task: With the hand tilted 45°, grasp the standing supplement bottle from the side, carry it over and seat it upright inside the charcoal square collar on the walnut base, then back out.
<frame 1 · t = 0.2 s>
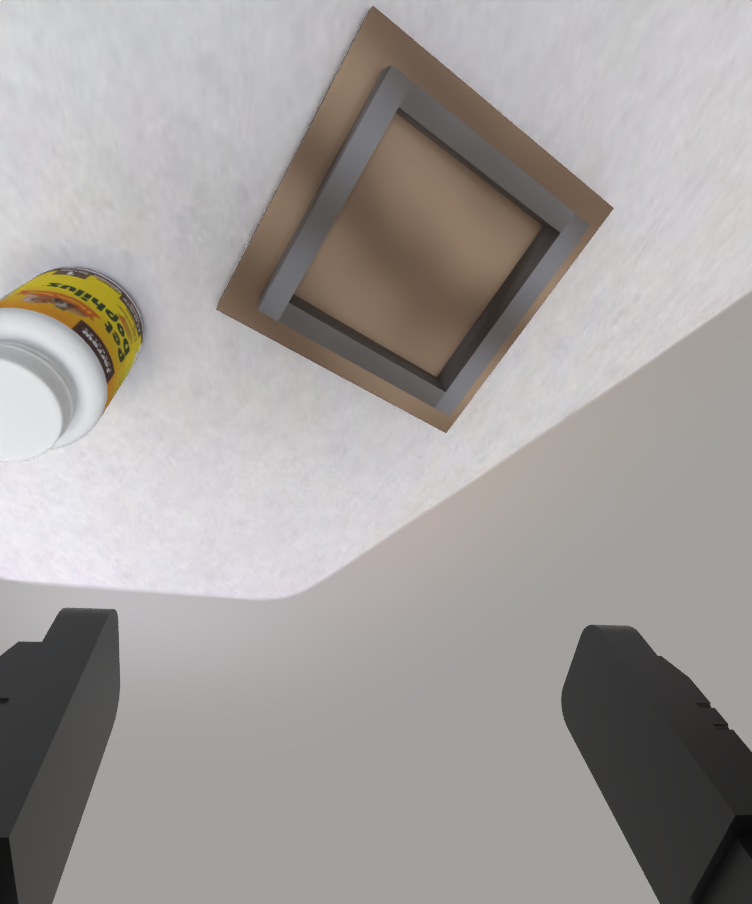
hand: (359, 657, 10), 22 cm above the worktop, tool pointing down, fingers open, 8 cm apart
collar base: (412, 254, 29), on the worktop
supplement bottle: (87, 320, 28), on the worktop
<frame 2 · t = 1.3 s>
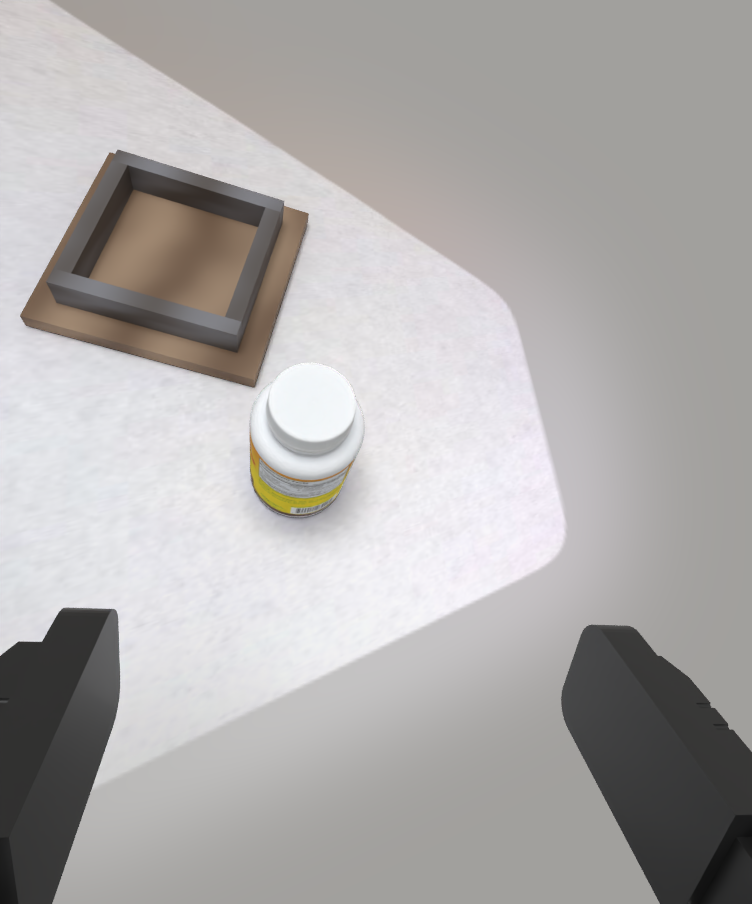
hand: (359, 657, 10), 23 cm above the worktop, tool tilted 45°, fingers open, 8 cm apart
collar base: (179, 269, 38), on the worktop
supplement bottle: (296, 476, 35), on the worktop
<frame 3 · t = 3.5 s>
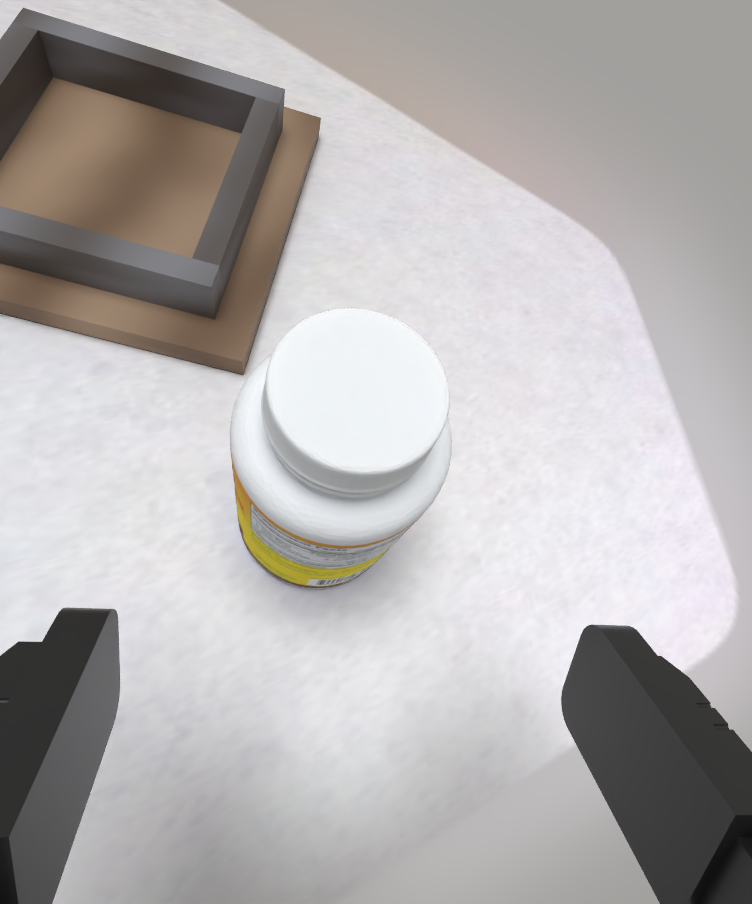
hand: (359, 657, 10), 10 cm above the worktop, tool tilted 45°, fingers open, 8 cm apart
collar base: (125, 197, 25), on the worktop
supplement bottle: (313, 517, 21), on the worktop
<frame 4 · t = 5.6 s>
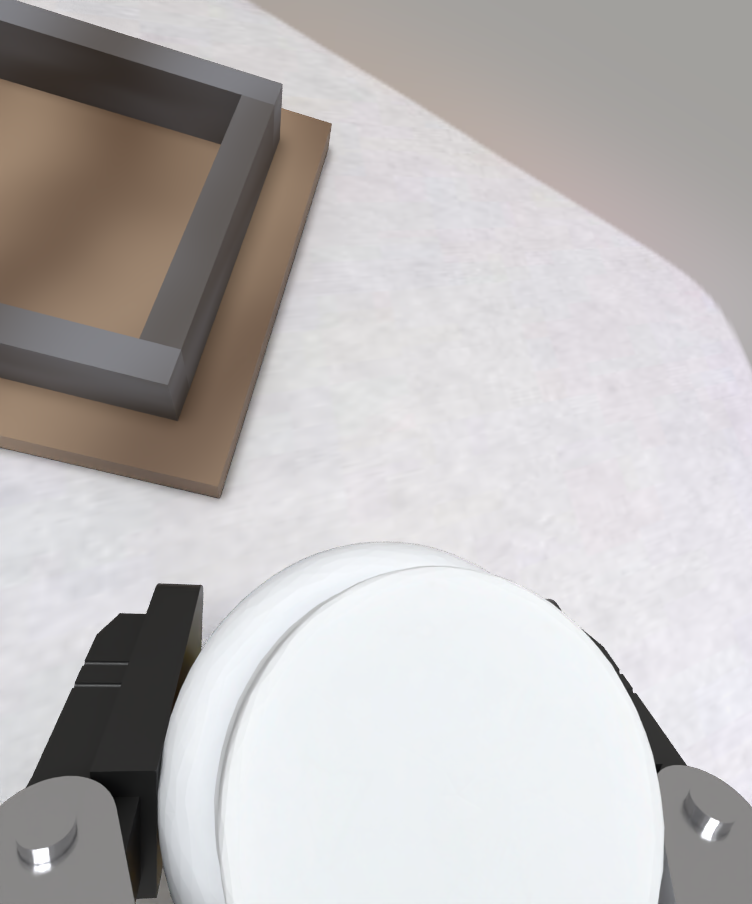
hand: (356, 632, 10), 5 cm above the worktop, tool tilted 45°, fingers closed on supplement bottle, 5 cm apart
collar base: (59, 235, 18), on the worktop
supplement bottle: (322, 725, 14), on the worktop, touching gripper
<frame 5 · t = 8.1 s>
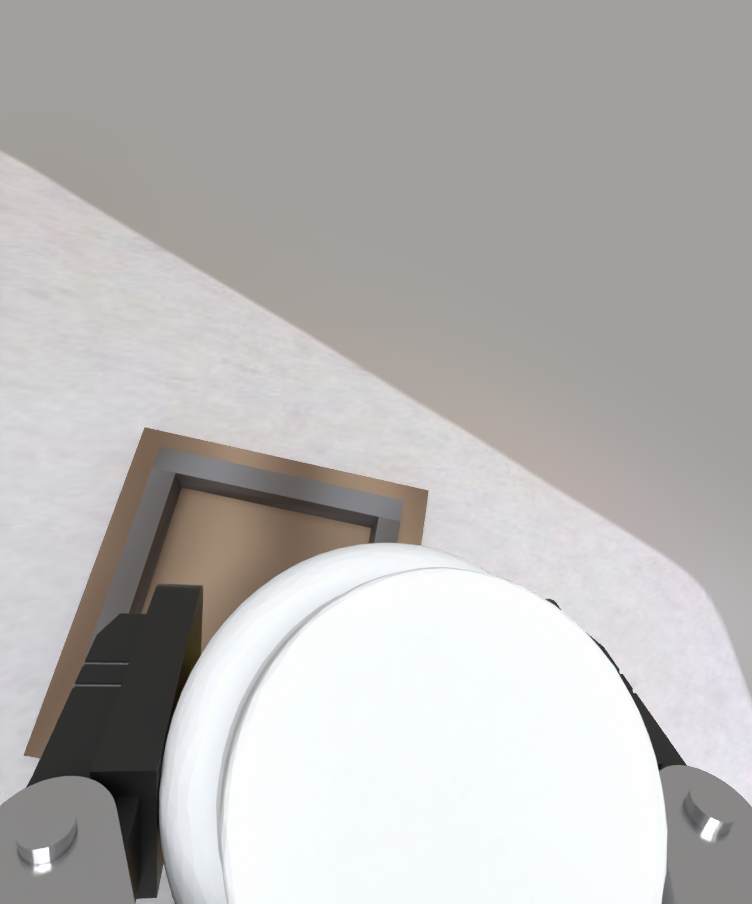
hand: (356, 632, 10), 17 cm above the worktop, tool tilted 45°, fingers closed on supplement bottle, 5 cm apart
collar base: (254, 607, 26), on the worktop
supplement bottle: (323, 726, 14), point 12 cm above the worktop, touching gripper
when the fingers open (7 cm above the worktop, at t = 10.9 s): supplement bottle drops 1 cm, resting on collar base.
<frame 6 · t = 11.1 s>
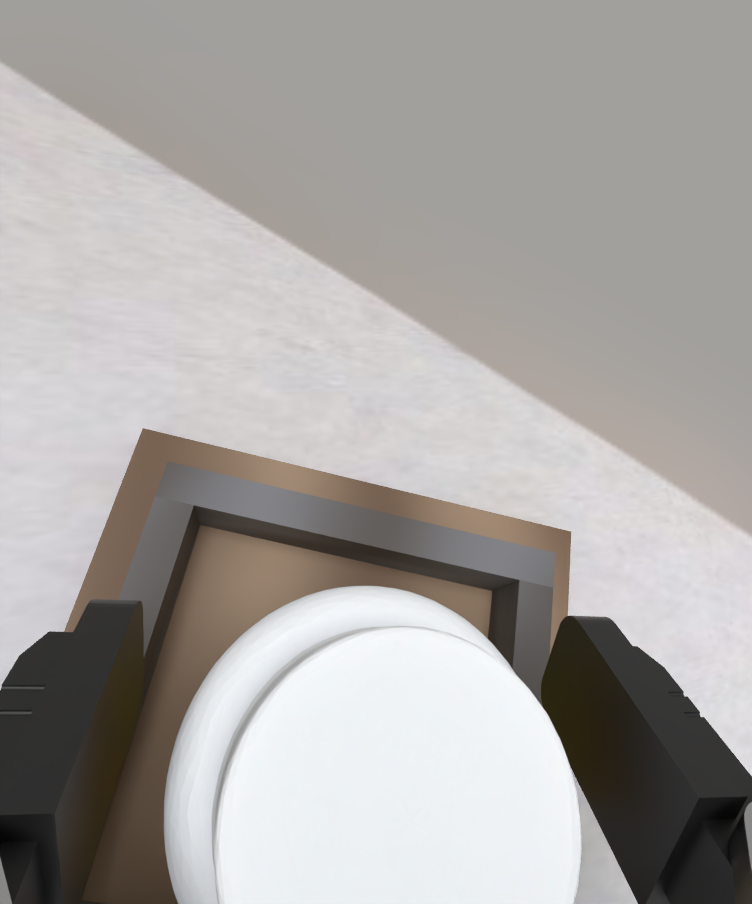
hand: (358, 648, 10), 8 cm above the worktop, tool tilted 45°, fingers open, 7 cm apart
collar base: (313, 720, 16), on the worktop
supplement bottle: (313, 731, 15), point 1 cm above the worktop, touching collar base
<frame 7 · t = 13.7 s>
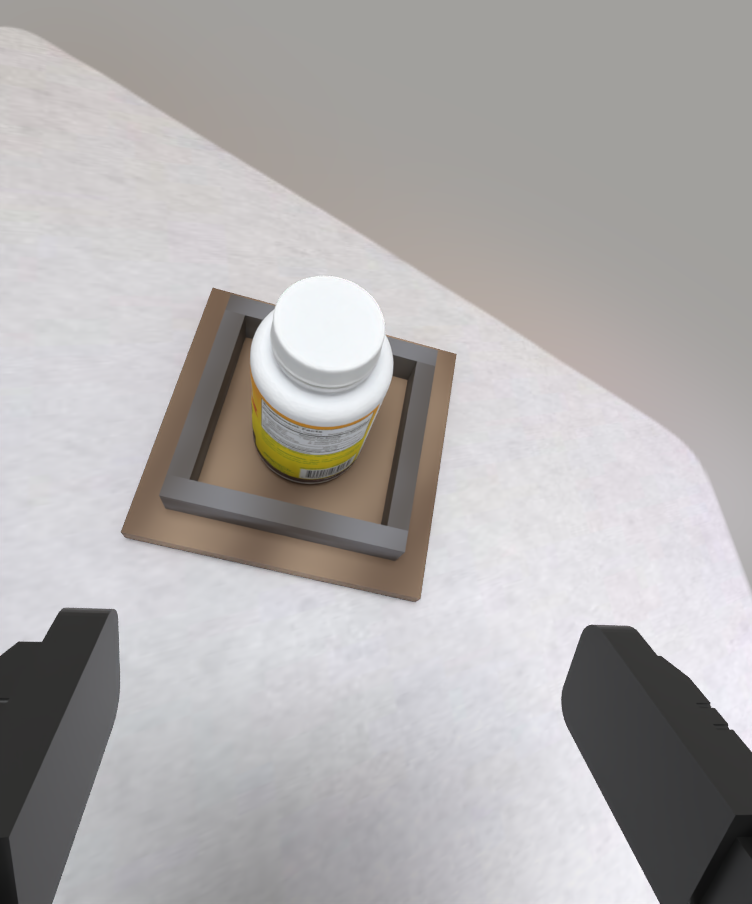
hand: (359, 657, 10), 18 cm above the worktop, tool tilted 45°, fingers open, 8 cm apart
collar base: (307, 439, 30), on the worktop
supplement bottle: (307, 437, 29), point 1 cm above the worktop, touching collar base
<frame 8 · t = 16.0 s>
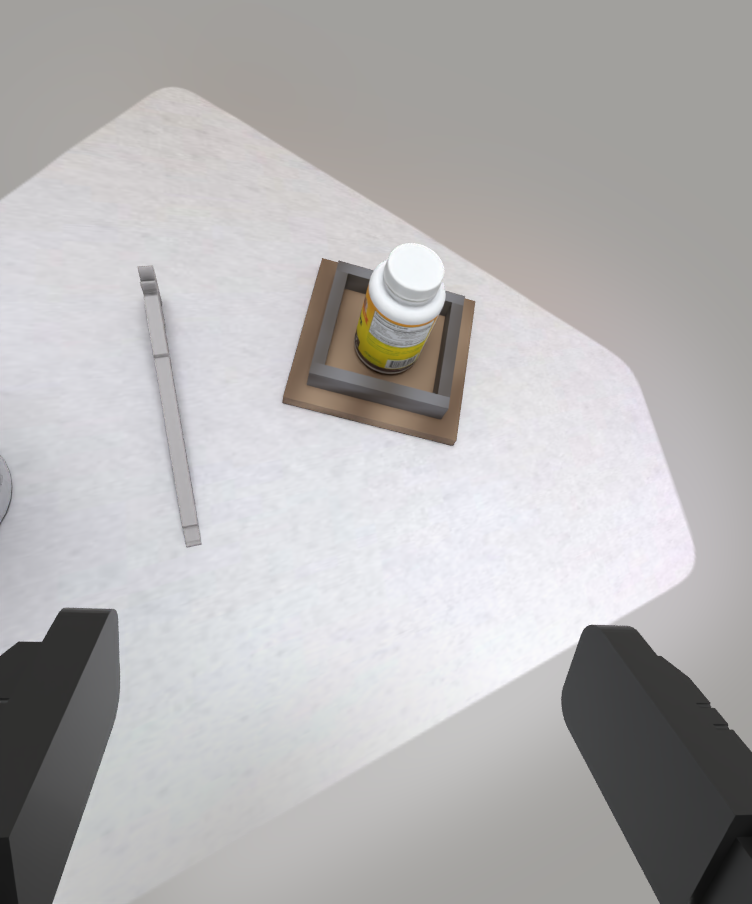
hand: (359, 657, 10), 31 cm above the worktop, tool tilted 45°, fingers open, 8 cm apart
collar base: (383, 351, 49), on the worktop
supplement bottle: (385, 349, 48), point 1 cm above the worktop, touching collar base
caliper: (173, 416, 44), on the worktop
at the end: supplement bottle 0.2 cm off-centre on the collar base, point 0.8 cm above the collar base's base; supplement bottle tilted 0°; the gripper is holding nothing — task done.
